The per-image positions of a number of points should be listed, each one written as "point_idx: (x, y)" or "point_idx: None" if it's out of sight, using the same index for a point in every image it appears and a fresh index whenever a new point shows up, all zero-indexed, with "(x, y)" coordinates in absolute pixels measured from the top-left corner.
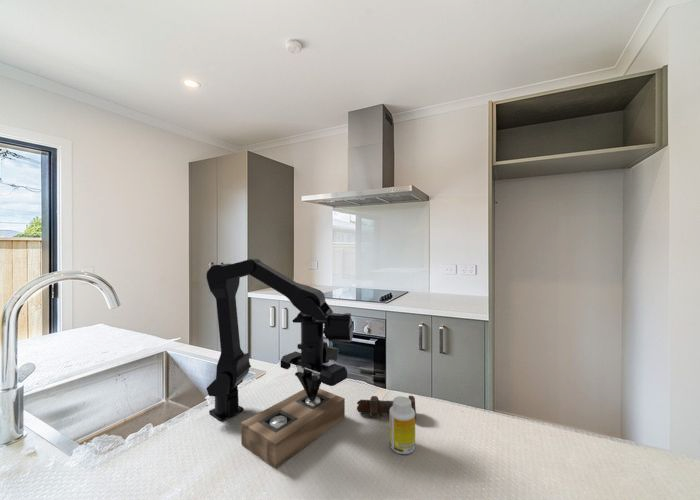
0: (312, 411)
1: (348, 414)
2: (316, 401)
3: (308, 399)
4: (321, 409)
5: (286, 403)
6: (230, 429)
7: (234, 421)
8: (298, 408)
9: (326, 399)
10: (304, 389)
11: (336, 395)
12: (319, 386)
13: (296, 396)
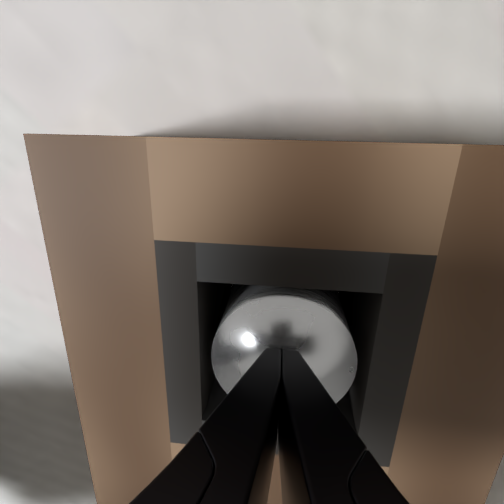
0: (402, 484)
1: (482, 85)
2: (329, 363)
3: (239, 372)
4: (459, 440)
5: (146, 482)
6: (50, 496)
7: (6, 462)
8: (275, 496)
9: (401, 290)
10: (56, 258)
11: (469, 149)
12: (379, 470)
13: (115, 386)
